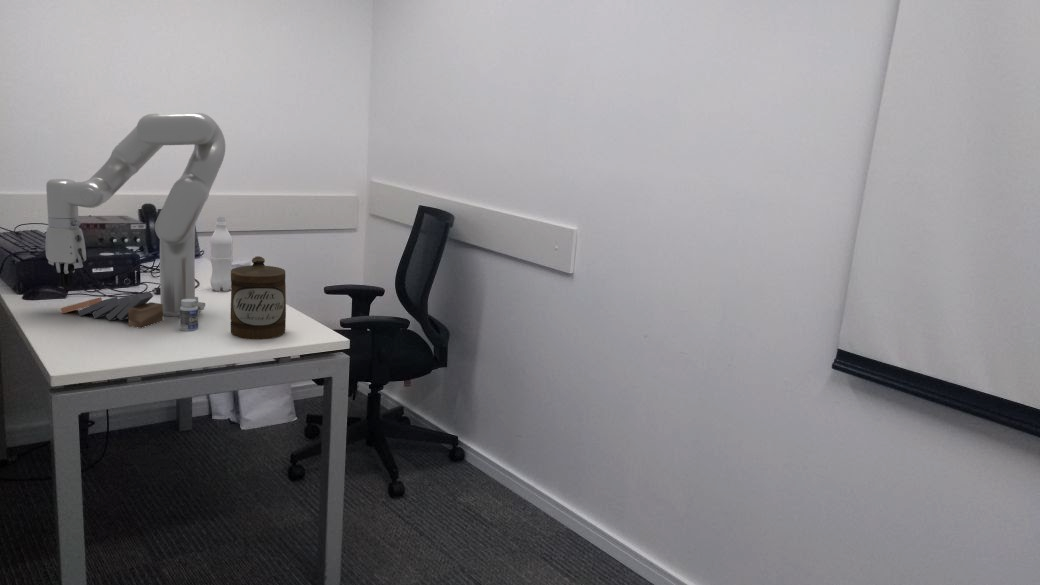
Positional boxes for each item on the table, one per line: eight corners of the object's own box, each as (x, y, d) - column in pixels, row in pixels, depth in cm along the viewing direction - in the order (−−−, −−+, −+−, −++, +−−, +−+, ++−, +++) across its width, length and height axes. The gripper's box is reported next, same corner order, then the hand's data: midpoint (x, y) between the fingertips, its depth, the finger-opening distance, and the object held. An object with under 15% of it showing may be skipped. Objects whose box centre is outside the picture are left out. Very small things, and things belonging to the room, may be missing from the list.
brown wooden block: (162, 320, 224) (162, 304, 223) (141, 328, 215) (140, 310, 214) (150, 318, 225) (150, 302, 224) (128, 326, 216) (128, 308, 215)
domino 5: (132, 316, 224) (153, 296, 221) (120, 320, 219) (141, 299, 216) (129, 312, 224) (150, 291, 221) (116, 315, 219) (137, 295, 216)
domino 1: (75, 309, 228) (102, 302, 225) (62, 313, 223) (89, 306, 220) (73, 304, 228) (100, 297, 225) (60, 308, 223) (87, 300, 220)
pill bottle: (191, 332, 216) (191, 302, 214) (176, 329, 217) (175, 300, 215) (201, 327, 220) (201, 299, 218) (186, 325, 221) (186, 297, 219)
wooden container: (232, 341, 211) (231, 261, 206) (229, 326, 224) (229, 251, 219) (288, 339, 217) (289, 261, 212) (282, 324, 230) (283, 252, 225)
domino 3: (107, 314, 226) (132, 300, 223) (94, 318, 221) (119, 304, 218) (105, 309, 226) (129, 295, 223) (92, 313, 221) (116, 299, 218)
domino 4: (122, 316, 225) (143, 297, 222) (109, 320, 220) (131, 301, 217) (118, 312, 225) (140, 293, 222) (106, 316, 220) (127, 296, 217)
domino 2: (93, 312, 227) (119, 301, 224) (80, 316, 222) (106, 305, 219) (90, 307, 227) (116, 296, 224) (77, 311, 222) (103, 300, 219)
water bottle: (224, 286, 270) (224, 215, 265) (237, 290, 266) (237, 218, 261) (206, 289, 265) (205, 216, 259) (218, 293, 261) (218, 219, 255)
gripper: (96, 224, 222) (98, 286, 226) (52, 219, 225) (55, 280, 229) (75, 227, 215) (78, 291, 219) (30, 221, 218) (34, 285, 222)
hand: (66, 285), depth 224 cm, fingers closed
